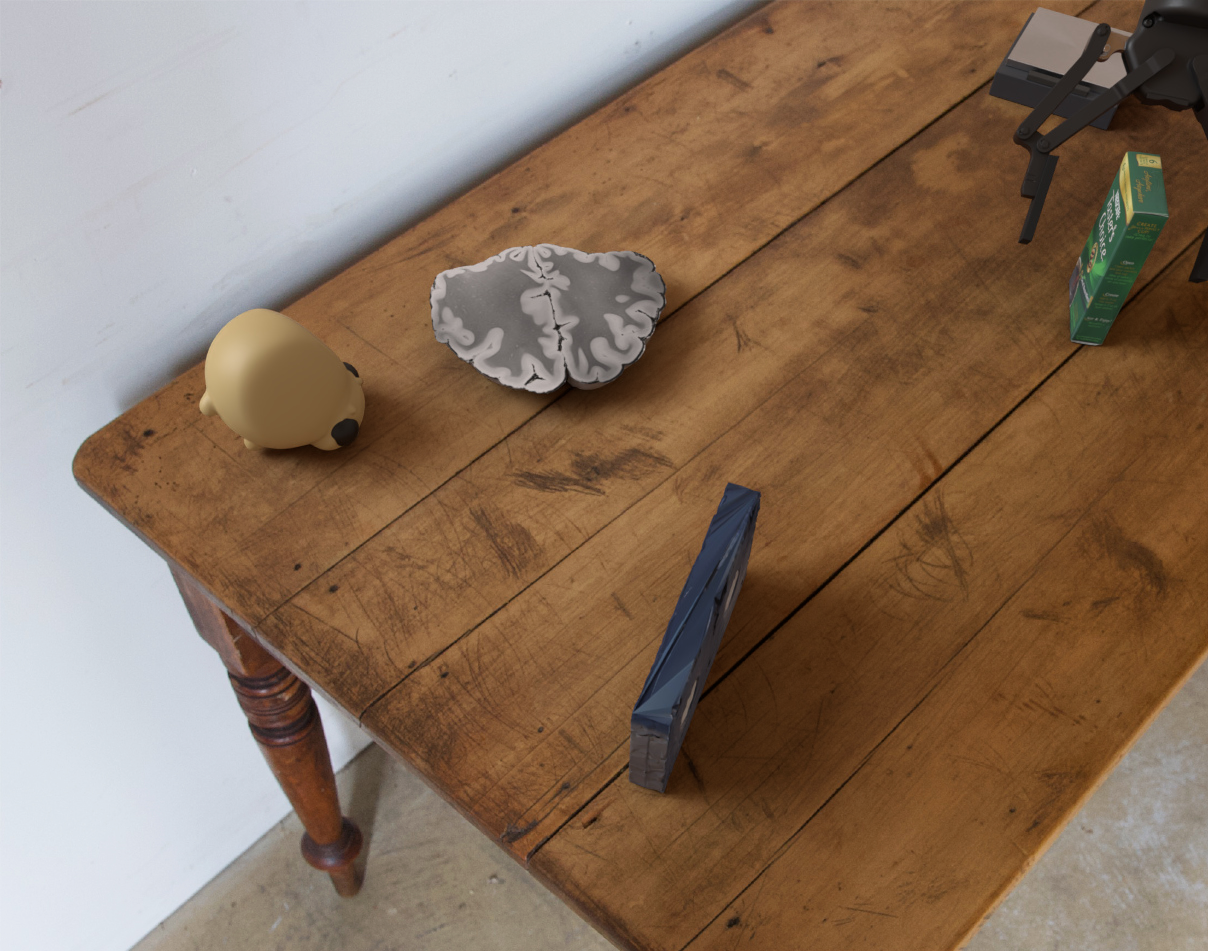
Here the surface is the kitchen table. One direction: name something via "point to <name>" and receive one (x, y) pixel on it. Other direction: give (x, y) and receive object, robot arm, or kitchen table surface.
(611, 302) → the brain slice
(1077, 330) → the coffee box
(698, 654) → the vhs cassette tape
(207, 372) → the toy pig
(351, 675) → the kitchen table surface
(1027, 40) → the scale
